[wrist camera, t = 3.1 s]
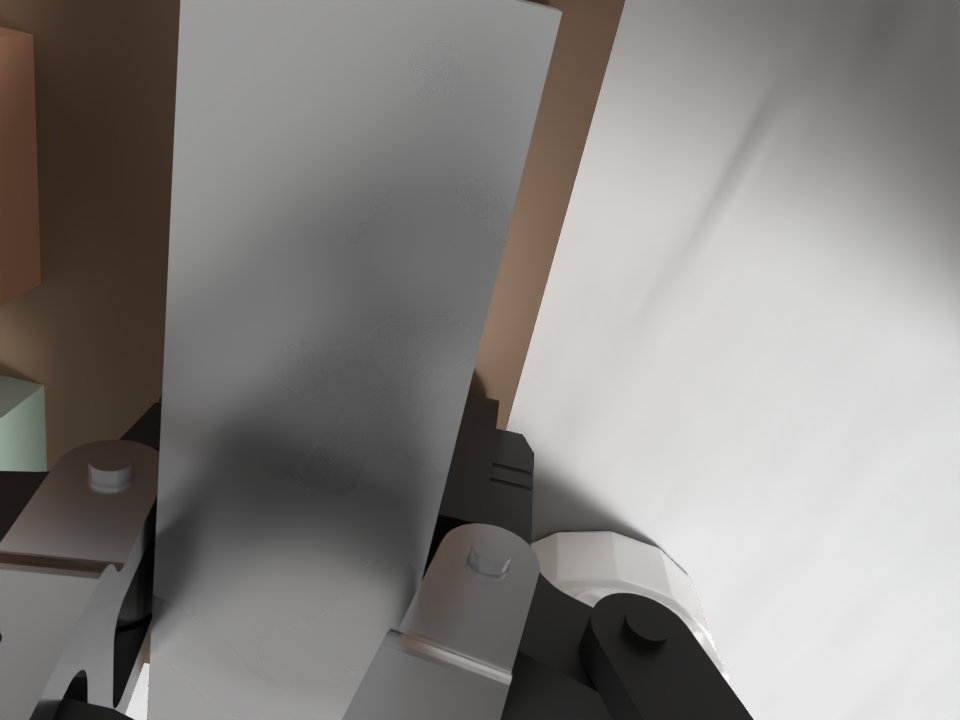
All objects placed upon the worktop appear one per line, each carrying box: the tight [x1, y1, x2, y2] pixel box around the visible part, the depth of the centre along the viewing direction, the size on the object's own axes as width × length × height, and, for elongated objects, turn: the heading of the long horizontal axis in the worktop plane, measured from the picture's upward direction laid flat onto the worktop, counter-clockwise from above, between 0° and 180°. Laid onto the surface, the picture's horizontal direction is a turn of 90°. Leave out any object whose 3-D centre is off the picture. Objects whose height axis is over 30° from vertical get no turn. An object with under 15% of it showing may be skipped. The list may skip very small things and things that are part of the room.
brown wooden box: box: [0, 0, 625, 664], centre depth 16 cm, size 12×15×6 cm
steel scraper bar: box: [147, 0, 562, 720], centre depth 11 cm, size 3×14×5 cm, turn 167°
